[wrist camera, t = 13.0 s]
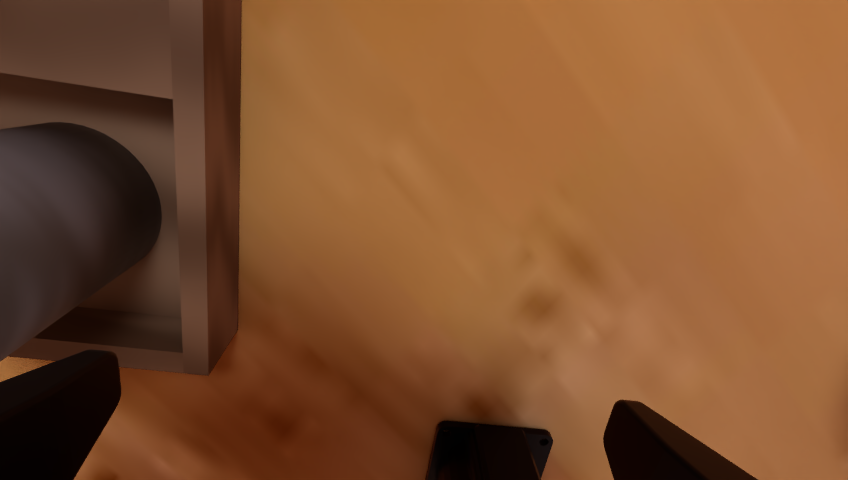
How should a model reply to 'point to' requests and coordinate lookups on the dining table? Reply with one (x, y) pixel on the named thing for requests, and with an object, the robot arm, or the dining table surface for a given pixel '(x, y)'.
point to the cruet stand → (120, 180)
